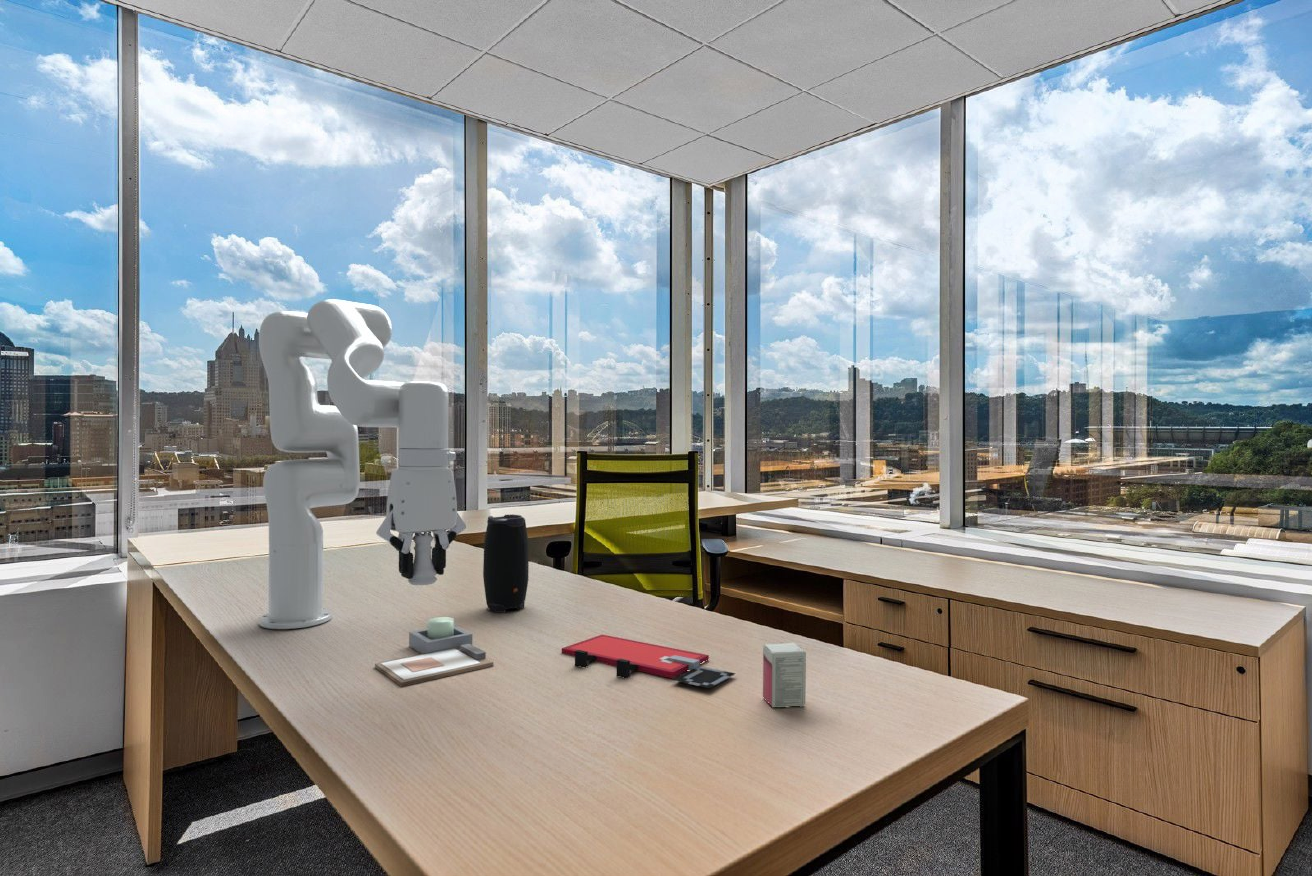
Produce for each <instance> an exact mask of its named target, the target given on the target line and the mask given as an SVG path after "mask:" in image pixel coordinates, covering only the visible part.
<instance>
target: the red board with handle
mask: <svg viewBox="0 0 1312 876" xmlns="http://www.w3.org/2000/svg"><path fill="white" fill-rule="evenodd" d="M563 653H565V654H564V655H567V654H569V655H568V656H572V655H573V657H574V666H575V667H577V666H581V667H585V668H587V667H588V663H589V662H595V661H596V662H597V661H600V662H599V663H601V662H604V663H603V664H605V663H607V664H606V665H610V664H611V666H614V665H615V667H616V677H617V676H621V677H624V678H623V679H625V678H627V679H628V677H629V676H630V677H631V672H632V671H634V672H641V671H642V672H643V673H646V674H651V675H654V676H655V675H657V676H659V675H660V677H664V678H668V679H671V680H672V681H676V682H679V683H683V684H687V685H694V686H697V687H703V688H707V689H710V688H713V687H714V686H716V685H718V684H720V683H721V682H723V681H725V680H727V679H728V678H731V677H732V676H735V674H737V673H736V672H730V671H726V670H722V669H721V670H720V669H716V668H711V667H707V666H702V665H699V664H700V663H702V662H703V661H706V660H708V659H709V660H710V657H709V656H710V655H708V654H705V653H701V652H700V653H699V652H694V651H689V650H684V649H679V648H673V647H668V646H663V645H660V644H659V645H657V644H655V643H654V644H653V643H648V642H643V641H638V640H634V639H633V640H632V639H628V638H623V637H618V636H612V635H607V634H599V635H596V636H594V637H591V638H588V639H585V640H581V641H579V642H575V643H573V644H570V645H567V646H565V647H561V654H563ZM586 666H587V667H586ZM581 667H580V668H581ZM687 670H690V671H687ZM686 671H687V672H686ZM642 672H641V673H642ZM684 672H685V673H684ZM682 673H683V674H682ZM678 675H679V676H678ZM676 676H677V677H676ZM621 677H620V678H621ZM630 677H629V678H630Z"/></svg>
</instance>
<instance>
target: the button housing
mask: <svg viewBox="0 0 1312 876" xmlns="http://www.w3.org/2000/svg"><path fill="white" fill-rule="evenodd" d="M408 635H409V636H408V646H409V647H410V648H411V647H412V649H413V650H415V651H416V652H418V653H420V654H425V653H427V654H429V653H434V652H439V651H444V650H449V649H454V648H460V645H465V644H471V645H473V633H471V632H469V631H467V630H465V629H463V628H461V627H458V626H457V625H455V624H454V636H450V637H445V638H440V639H434V640H430V639H428V638H427V628H423V629H418V630H412V631H411V630H410V631H409V633H408Z"/></svg>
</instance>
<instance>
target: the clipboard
mask: <svg viewBox="0 0 1312 876" xmlns="http://www.w3.org/2000/svg"><path fill="white" fill-rule="evenodd" d="M486 654H487V652H486V651H484V650H482V649H480V648H478V647H476V646H475V645H473V644H472V645H471V644H465V645H460V648H454V649H449V650H444V651H439V652H434V653H429V654H427V653H425V654H421V653H420V654H416V655H411V656H410V655H409V656H407V657H401V658H395V659H391V660H387V661H381V662H376V663H374V668H375V669H376V670H378V671H379V672H380V673H382V674H384V675H385V676H386V677H387V678H389V679H390V680H392V681H393V682H395V683H396V684H397V685H399V686H400V687H401V688H402V687H405V686H410V685H414V684H419V683H423V682H428V681H431V680H432V681H433V680H436V679H442V678H446V677H449V676H454V675H458V674H464V673H467V672H471V671H472V670H473V671H476V670H482V669H485V668H490V667H494V661H492V660H490V659H488V658H487V657H486Z"/></svg>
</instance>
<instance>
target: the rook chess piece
mask: <svg viewBox="0 0 1312 876" xmlns="http://www.w3.org/2000/svg"><path fill="white" fill-rule="evenodd" d="M433 541H434V537H433V534H432V532H422V533H414V534H413V538H412V542H414V547H413V549H414V556H413V578H412V579H407V582H408V583H409V584H410V585H412V586H428V585H433V584H435V583H436V582H437V581H438V578H437V577H436V576H437V575H438V574H437V572H436V570H435V569H434V566H433V565H432V549H433V547H432V546H431V543H432V542H433Z"/></svg>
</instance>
